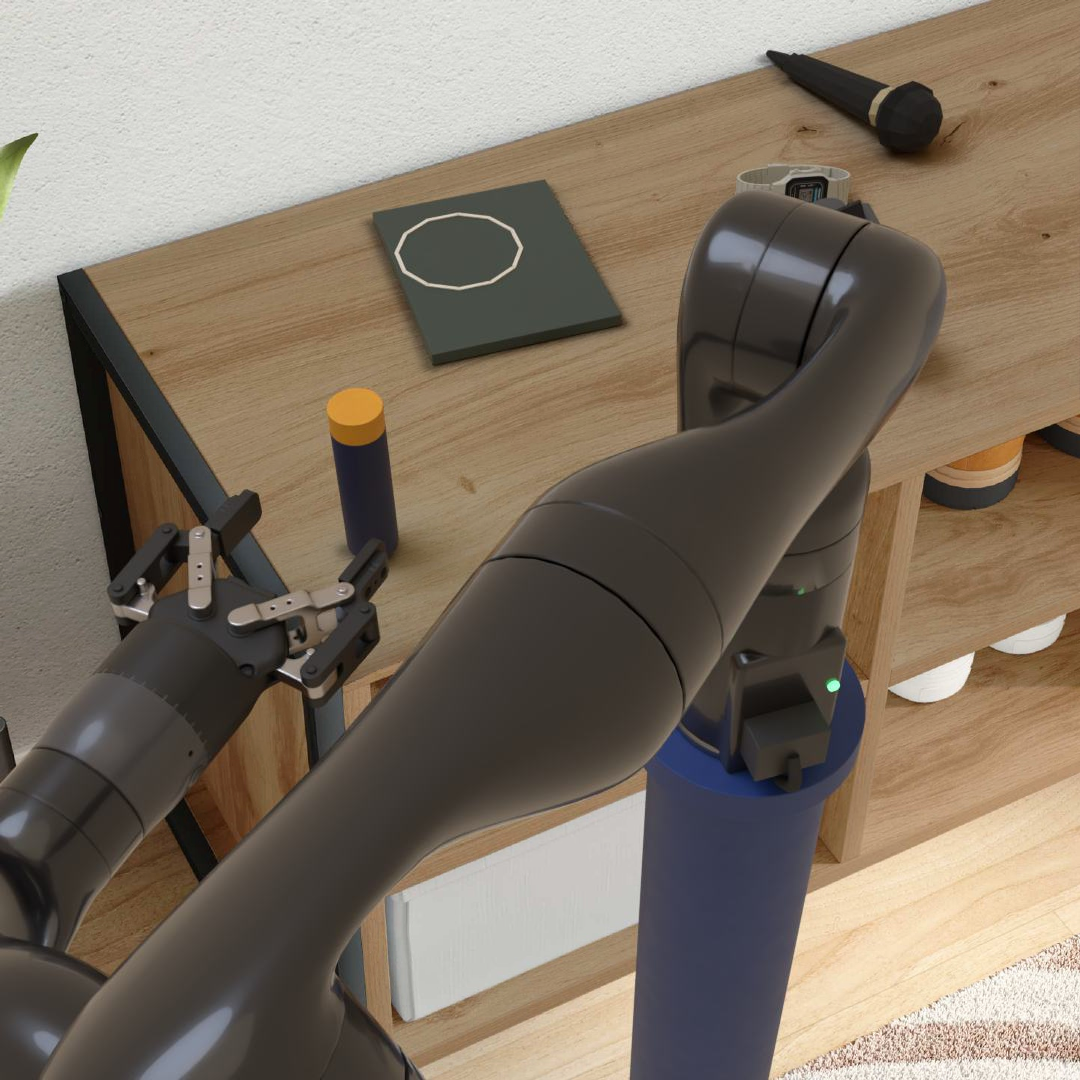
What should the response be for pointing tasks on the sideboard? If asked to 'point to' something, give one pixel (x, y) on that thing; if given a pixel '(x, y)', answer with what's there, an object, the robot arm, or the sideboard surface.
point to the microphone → (871, 100)
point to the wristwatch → (798, 181)
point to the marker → (363, 468)
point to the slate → (493, 271)
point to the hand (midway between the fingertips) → (316, 524)
